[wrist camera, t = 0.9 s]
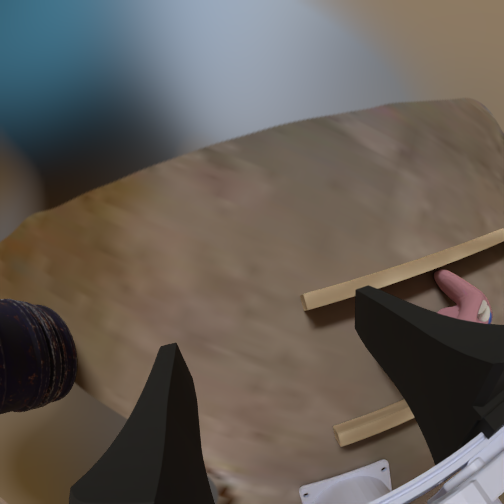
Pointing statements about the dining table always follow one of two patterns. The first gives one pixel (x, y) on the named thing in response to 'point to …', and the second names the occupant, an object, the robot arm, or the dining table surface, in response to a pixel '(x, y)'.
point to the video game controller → (463, 298)
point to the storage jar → (33, 356)
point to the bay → (314, 299)
